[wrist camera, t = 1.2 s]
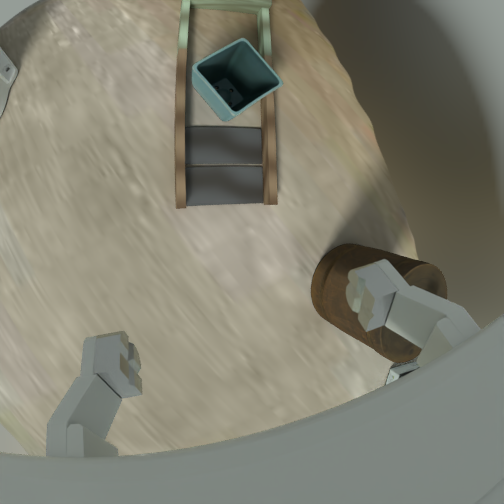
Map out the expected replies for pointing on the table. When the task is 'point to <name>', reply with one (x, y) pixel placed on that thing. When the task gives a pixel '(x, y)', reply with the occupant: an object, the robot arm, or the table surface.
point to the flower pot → (234, 79)
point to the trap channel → (224, 132)
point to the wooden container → (341, 315)
